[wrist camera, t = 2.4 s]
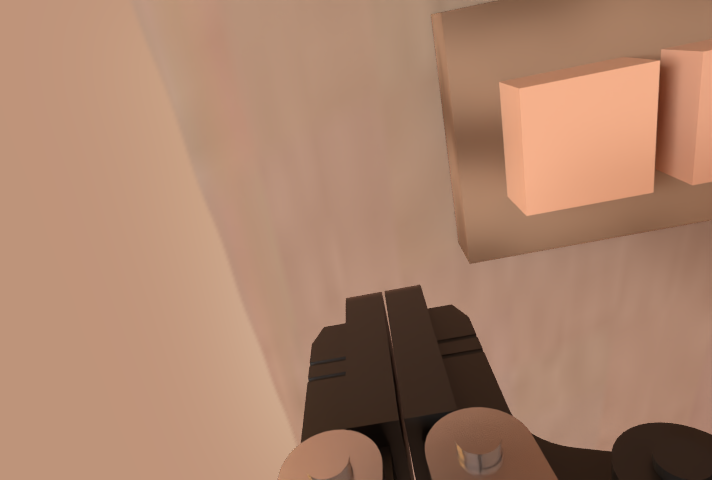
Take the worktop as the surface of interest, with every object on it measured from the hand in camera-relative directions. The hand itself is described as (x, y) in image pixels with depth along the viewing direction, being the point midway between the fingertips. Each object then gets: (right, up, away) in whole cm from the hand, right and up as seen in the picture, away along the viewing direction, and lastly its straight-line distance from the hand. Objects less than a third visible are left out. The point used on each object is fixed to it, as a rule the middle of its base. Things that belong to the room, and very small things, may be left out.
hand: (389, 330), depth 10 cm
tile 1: (+8, +6, +11) cm, 15 cm away
